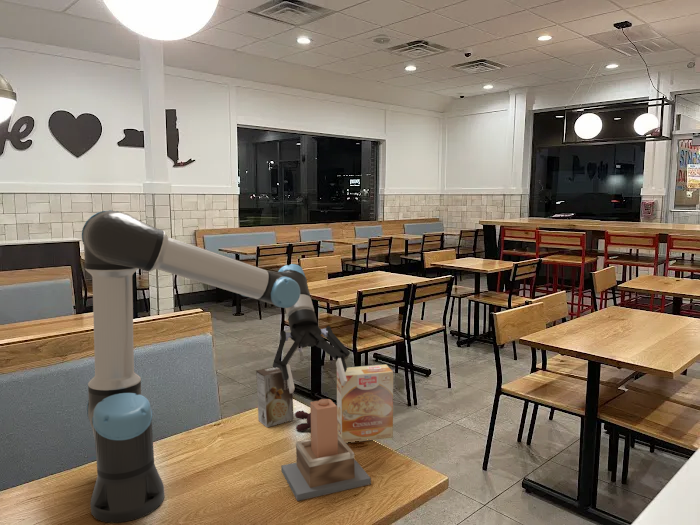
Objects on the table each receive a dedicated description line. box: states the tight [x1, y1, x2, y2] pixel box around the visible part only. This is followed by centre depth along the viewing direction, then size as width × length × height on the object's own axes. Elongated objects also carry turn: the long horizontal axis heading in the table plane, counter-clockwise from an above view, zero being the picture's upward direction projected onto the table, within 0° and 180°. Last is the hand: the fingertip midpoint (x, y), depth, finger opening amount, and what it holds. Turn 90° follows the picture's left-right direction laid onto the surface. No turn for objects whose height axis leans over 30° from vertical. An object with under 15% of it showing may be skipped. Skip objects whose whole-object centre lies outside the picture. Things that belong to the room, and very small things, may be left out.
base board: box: [280, 458, 372, 502], centre depth 127 cm, size 18×14×2 cm
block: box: [309, 398, 338, 458], centre depth 126 cm, size 5×5×13 cm
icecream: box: [294, 409, 311, 432], centre depth 153 cm, size 7×7×15 cm
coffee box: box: [255, 366, 295, 428], centre depth 159 cm, size 9×6×16 cm
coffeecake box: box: [336, 364, 394, 444], centre depth 148 cm, size 15×7×20 cm, turn 103°
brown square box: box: [295, 435, 355, 488], centre depth 127 cm, size 11×11×6 cm
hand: (318, 387), depth 131 cm, fingers open, 13 cm apart
